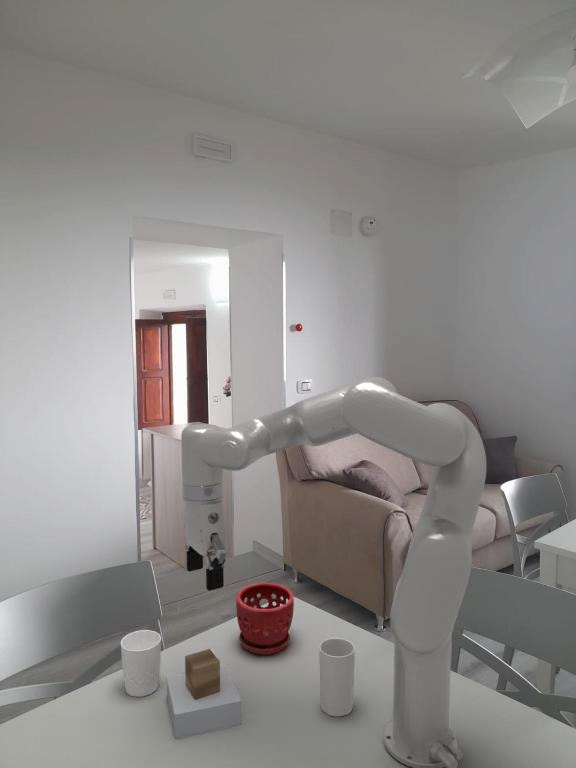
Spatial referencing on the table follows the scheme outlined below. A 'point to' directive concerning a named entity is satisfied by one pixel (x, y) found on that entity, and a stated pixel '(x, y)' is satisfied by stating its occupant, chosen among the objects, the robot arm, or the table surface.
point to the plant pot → (264, 617)
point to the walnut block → (202, 674)
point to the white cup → (141, 662)
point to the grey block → (202, 706)
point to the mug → (336, 676)
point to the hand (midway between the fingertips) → (204, 578)
